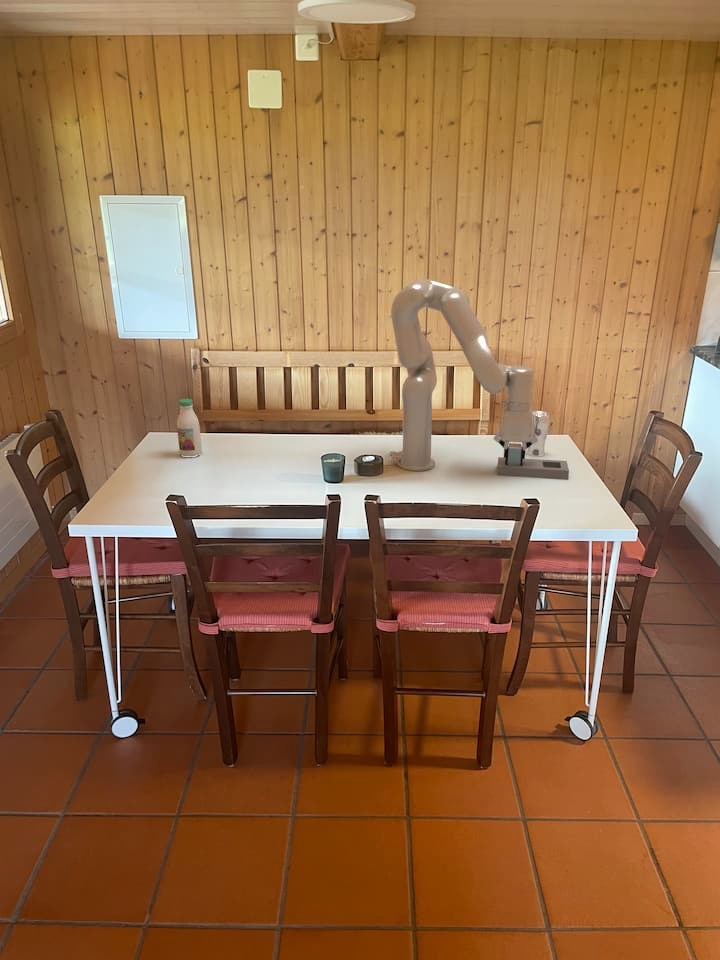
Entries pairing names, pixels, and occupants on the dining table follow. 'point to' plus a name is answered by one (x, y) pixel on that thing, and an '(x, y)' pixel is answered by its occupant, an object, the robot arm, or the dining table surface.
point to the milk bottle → (188, 430)
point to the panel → (534, 468)
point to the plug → (514, 454)
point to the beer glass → (539, 433)
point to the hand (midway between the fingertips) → (514, 459)
